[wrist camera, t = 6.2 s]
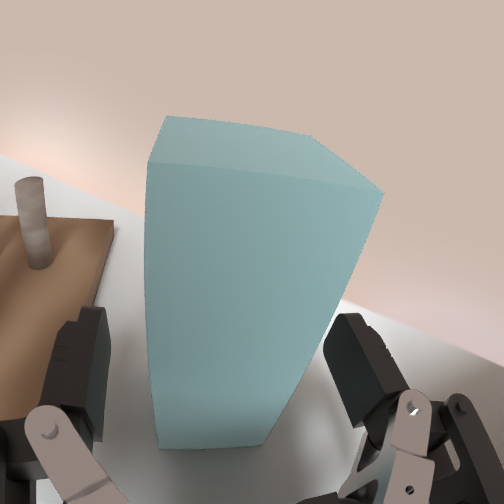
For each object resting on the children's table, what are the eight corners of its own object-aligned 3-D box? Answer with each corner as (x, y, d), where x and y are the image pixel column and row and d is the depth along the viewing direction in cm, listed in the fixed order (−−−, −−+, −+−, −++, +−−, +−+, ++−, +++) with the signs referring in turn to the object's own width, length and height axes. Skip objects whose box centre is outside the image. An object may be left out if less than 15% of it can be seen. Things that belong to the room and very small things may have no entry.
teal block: (158, 449, 12) (148, 162, 5) (157, 367, 16) (166, 115, 9) (262, 444, 14) (384, 192, 7) (245, 367, 18) (309, 135, 11)
